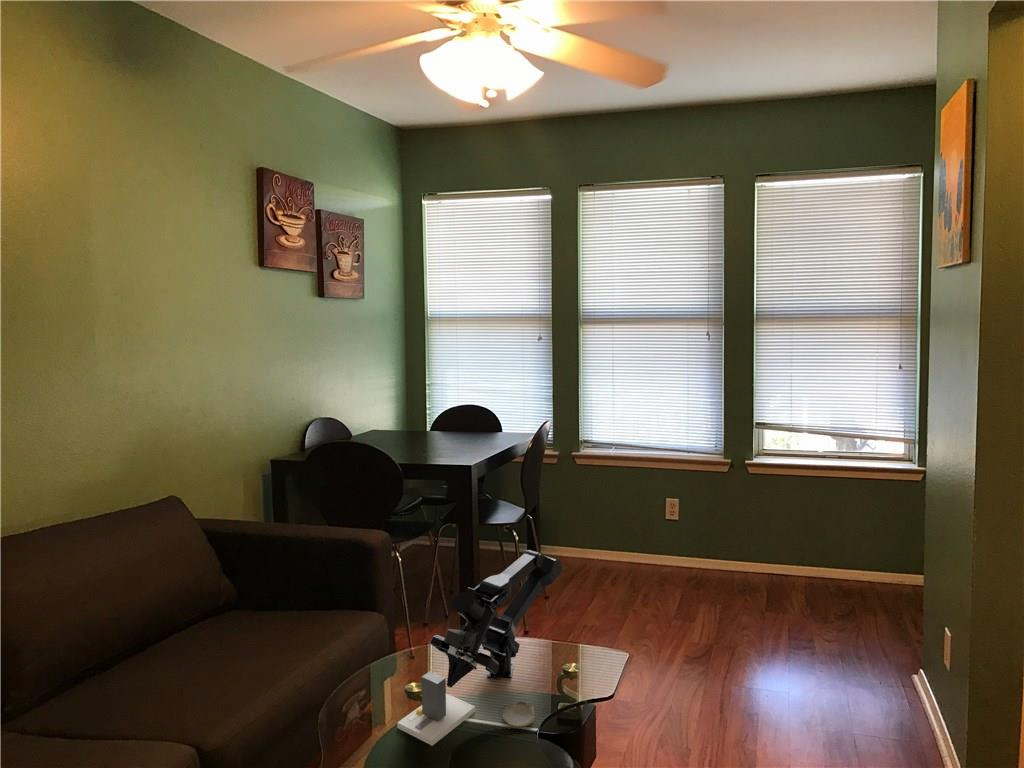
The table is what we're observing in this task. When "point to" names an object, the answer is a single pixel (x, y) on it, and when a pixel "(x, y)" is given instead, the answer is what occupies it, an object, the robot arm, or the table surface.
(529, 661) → the table surface
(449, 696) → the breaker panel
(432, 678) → the handle
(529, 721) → the seashell
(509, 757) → the table surface
